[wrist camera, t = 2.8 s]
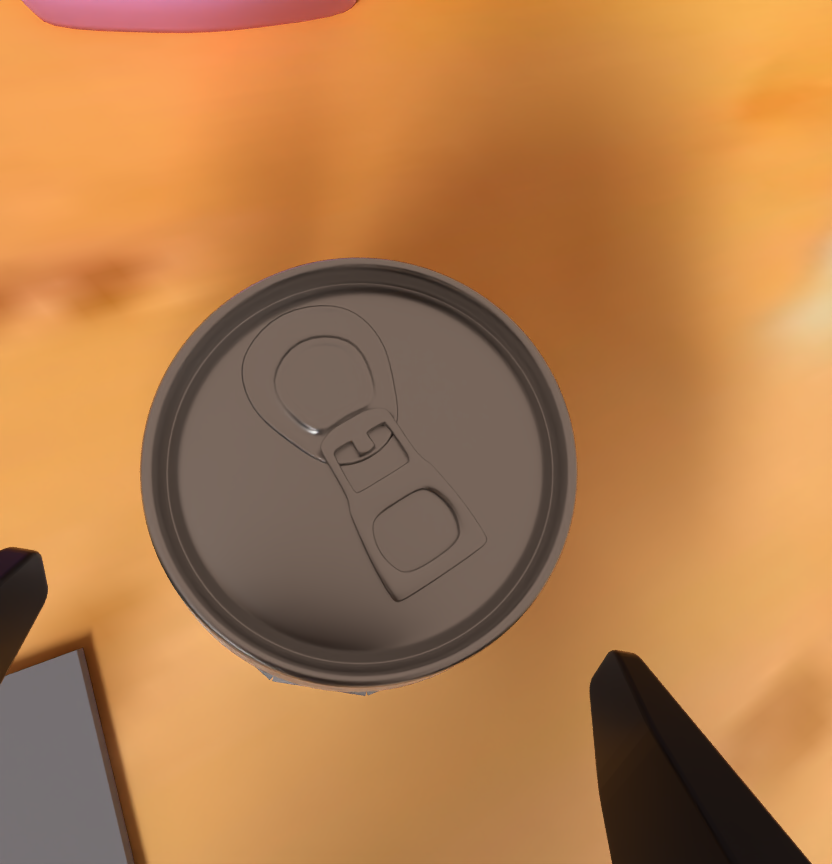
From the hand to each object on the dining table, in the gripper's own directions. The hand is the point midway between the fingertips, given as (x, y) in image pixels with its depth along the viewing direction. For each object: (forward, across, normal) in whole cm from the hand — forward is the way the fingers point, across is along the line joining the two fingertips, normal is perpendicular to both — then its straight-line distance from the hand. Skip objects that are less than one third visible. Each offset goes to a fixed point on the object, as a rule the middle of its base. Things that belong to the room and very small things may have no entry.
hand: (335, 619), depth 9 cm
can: (+9, 0, +6) cm, 10 cm away
